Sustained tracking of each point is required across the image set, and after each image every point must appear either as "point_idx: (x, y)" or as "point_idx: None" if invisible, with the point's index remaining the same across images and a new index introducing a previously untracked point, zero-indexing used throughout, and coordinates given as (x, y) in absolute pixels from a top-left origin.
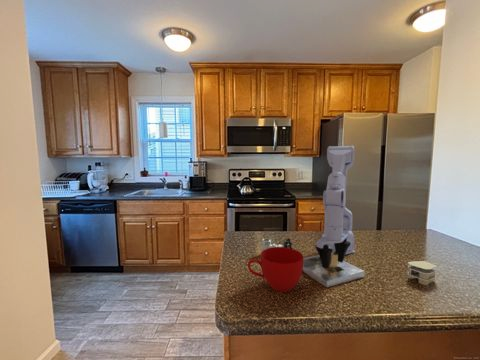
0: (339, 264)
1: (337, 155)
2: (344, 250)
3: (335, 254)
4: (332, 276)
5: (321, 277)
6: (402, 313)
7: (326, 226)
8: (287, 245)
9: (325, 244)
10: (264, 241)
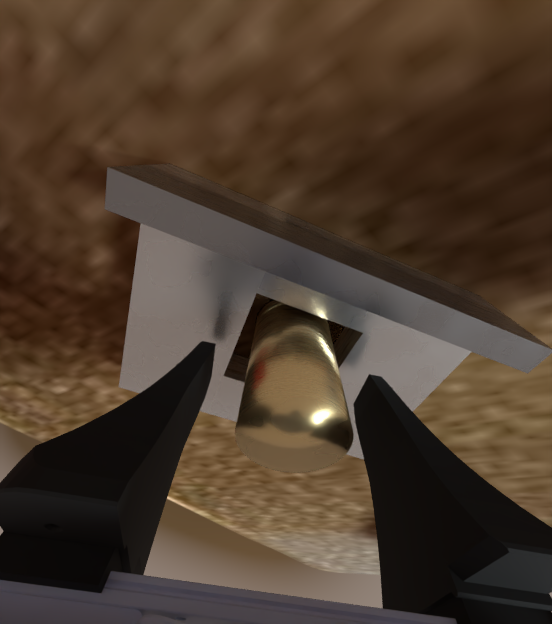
0: (374, 366)
1: None
2: (375, 520)
3: (289, 462)
4: None
5: (124, 356)
6: (201, 513)
7: None
8: None
9: (82, 609)
10: None
